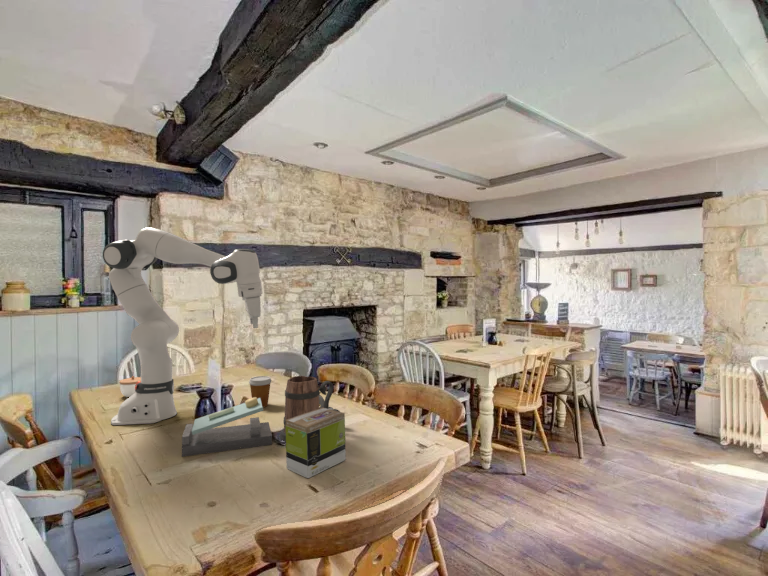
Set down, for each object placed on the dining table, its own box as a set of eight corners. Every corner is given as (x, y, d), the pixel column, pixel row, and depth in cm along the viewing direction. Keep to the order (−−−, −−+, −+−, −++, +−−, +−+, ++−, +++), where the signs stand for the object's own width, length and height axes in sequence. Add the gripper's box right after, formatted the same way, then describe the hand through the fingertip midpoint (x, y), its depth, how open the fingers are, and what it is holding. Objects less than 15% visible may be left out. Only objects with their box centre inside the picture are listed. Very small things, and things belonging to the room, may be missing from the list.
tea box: (323, 452, 128) (323, 406, 128) (346, 461, 121) (346, 412, 121) (284, 469, 116) (284, 418, 116) (307, 480, 110) (307, 426, 110)
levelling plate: (192, 435, 126) (189, 425, 126) (196, 422, 137) (193, 413, 137) (263, 410, 133) (260, 401, 133) (261, 400, 145) (258, 392, 144)
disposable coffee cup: (267, 409, 171) (267, 381, 171) (245, 408, 172) (245, 380, 172) (274, 402, 181) (274, 375, 181) (253, 402, 181) (253, 375, 181)
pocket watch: (334, 409, 172) (334, 385, 172) (330, 415, 163) (330, 390, 163) (316, 408, 172) (316, 385, 172) (310, 414, 164) (310, 390, 164)
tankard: (289, 448, 130) (289, 387, 130) (270, 433, 144) (270, 377, 144) (351, 433, 144) (351, 377, 144) (328, 420, 158) (328, 369, 158)
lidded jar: (121, 394, 194) (121, 375, 194) (147, 391, 198) (147, 372, 198) (117, 400, 184) (117, 379, 184) (144, 397, 189) (144, 377, 189)
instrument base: (181, 456, 124) (181, 438, 124) (186, 440, 137) (186, 423, 137) (271, 444, 134) (271, 427, 134) (268, 430, 147) (268, 414, 147)
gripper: (239, 289, 163) (243, 322, 165) (243, 294, 144) (248, 331, 146) (255, 287, 165) (259, 320, 167) (261, 292, 147) (266, 328, 148)
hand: (254, 325), depth 156 cm, fingers open, 8 cm apart
